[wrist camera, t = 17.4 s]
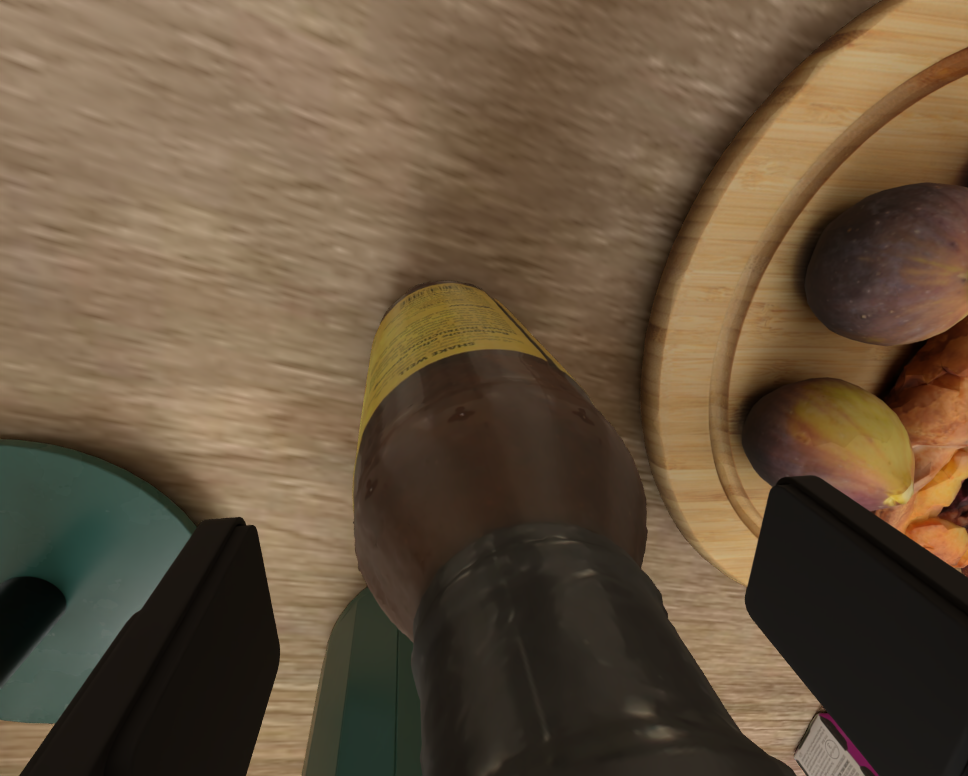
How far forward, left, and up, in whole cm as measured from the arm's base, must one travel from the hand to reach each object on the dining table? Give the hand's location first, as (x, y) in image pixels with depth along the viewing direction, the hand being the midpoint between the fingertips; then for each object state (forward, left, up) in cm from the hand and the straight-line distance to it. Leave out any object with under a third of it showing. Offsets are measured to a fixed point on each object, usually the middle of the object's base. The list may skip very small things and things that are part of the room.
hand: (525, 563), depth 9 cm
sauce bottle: (0, 0, -14) cm, 14 cm away
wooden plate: (+6, +24, -14) cm, 28 cm away
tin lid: (+6, -21, -14) cm, 26 cm away
